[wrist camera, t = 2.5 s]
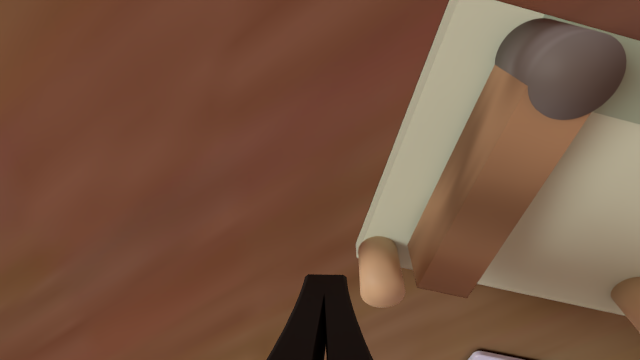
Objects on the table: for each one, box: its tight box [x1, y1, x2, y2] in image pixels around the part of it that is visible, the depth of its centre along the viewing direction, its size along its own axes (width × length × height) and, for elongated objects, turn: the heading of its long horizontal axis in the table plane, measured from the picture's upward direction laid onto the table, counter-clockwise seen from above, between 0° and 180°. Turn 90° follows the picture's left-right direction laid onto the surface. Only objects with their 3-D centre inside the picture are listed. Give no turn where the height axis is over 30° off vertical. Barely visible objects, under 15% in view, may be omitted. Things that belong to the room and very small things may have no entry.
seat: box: [356, 0, 640, 333], centre depth 17 cm, size 14×18×4 cm
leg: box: [407, 18, 627, 298], centre depth 15 cm, size 12×3×3 cm, turn 166°
